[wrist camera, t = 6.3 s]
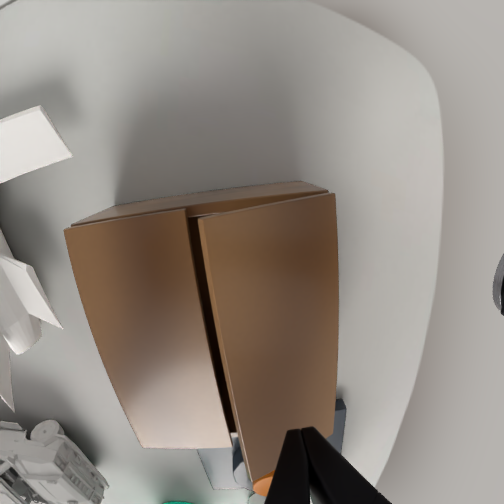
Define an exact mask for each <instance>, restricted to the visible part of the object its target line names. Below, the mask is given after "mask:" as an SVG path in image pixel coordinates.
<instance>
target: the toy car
mask: <svg viewBox="0 0 504 504" xmlns="http://www.w3.org/2000/svg"><path fill="white" fill-rule="evenodd" d="M3 428H8V429H3ZM10 429H17V430H23V429H22V427H21V426H20V425H19V423H13V422H4V421H0V504H30V502H31V501H34V500H35V501H37V502H35V503H38V502H42V503H45V504H100V503H101V501H102V499H104V496H103V493H104V489H108V488H109V485H108V483H107V481H106V479H105V478H104V477H103V476H102V475H101V473H100V472H99V471H98V470H97V469H96V468H95V467H94V466H93V464H92V463H91V462H90V461H89V460H88V459H87V457H86V456H85V455H84V454H83V453H82V451H81V450H80V449H79V448H78V447H77V445H76V444H75V443H73V442H72V441H71V440H70V439H69V438H68V437H67V436H65V435H64V431H63V429H62V427H61V426H60V425H59V423H58V422H57V421H55V420H51V419H50V420H46V421H43V422H41V423H40V424H38V425H36V427H35V428H34V429H33V431H32V432H31V437H30V439H31V440H28V439H27V438H26V434H27V433H28V432H27V430H25V432H24V431H17V430H10ZM20 496H22V497H25V498H26V499H25V500H23V499H22V498H21V497H20Z"/></svg>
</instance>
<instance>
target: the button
mask: <svg viewBox="0 0 504 504" xmlns="http://www.w3.org/2000/svg"><path fill="white" fill-rule="evenodd" d="M274 472H275V470H274V471H272V472H270V473H268V474H266V475H264V476H263V477H261V478H259V479H257V480H255V481H253V482H252V485H253V490H254V492H255V493H257V494H258V495H261V496H267V493H268V490H269V487H270V484H271V481H272V478H273V475H274Z"/></svg>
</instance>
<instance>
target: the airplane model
mask: <svg viewBox="0 0 504 504" xmlns="http://www.w3.org/2000/svg"><path fill="white" fill-rule="evenodd" d="M71 157H73V155H72V154H71V152H70V151H69V149H68V147H67V146H66V144H65V143H64V141H63V139H62V138H61V136H60V135H59V133H58V131H57V130H56V128H55V126H54V125H53V123H52V121H51V120H50V118H49V116H48V114H47V113H46V111H45V110H44V109H43V108H42V107H41V105H39V106H36V107H33V108H30V109H27V110H24V111H21V112H18V113H16V114H13V115H10V116H8V117H5V118H3V119H0V183H3V182H5V181H8V180H10V179H13V178H15V177H18V176H20V175H23V174H25V173H28V172H31V171H33V170H36V169H39V168H41V167H44V166H47V165H50V164H53V163H56V162H59V161H62V160H65V159H68V158H71ZM40 319H42V320H44V321H46V322H48V323H50V324H53V325H55V326H57V327H59V328H61V329H63V327H62V326H61V324H60V322H59V320H58V318H57V316H56V314H55V313H54V311H53V309H52V307H51V305H50V303H49V301H48V299H47V297H46V295H45V293H44V290H43V288H42V286H41V284H40V282H39V280H38V278H37V275H36V273H35V271H34V269H33V266H31V265H28V264H26V263H23V262H21V261H18V260H16V259H14V257H13V255H12V253H11V251H10V249H9V246H8V244H7V242H6V240H5V238H4V235H3V233H2V231H1V229H0V396H1V398H2V399H3V400H4V401H5V402H6V404H7V405H8V406H9V407H10V408H11V409H12V410H13V412H14V413H15V409H14V402H13V393H12V382H11V369H10V348H11V349H12V350H13V351H14V352H15V353H16V354H17V355H19V354H22V353H23V352H25V351H26V350H28V349H29V348H30V347H32V346H33V345H34V344H35V343H36V342H37V341H38V340H39V339H40V338H41V337H42V330H41V322H40Z"/></svg>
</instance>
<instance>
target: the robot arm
mask: <svg viewBox="0 0 504 504" xmlns="http://www.w3.org/2000/svg"><path fill="white" fill-rule="evenodd" d="M501 314H502V315H503V316H504V298H503V303H502V308H501ZM310 496H311V500H312V503H313V504H392V503H390V502H389V501H388V500H387V499H386V498H385V497H384V496H383V495H381V493H378V491H377V490H376V489H375V488H374V487H373V486H372V485H371V484H370V483H369V482H368V481H367V480H366V479H365V478H364V477H363V476H362V475H361V474H360V473H359V472H358V471H357V470H356V469H355V468H354V467H353V466H352V465H351V464H350V463H349V462H348V461H347V460H346V459H345V458H344V457H343V456H342V455H341V454H340V453H339V452H338V451H337V450H336V449H335V448H334V447H333V446H332V445H331V444H330V443H329V442H328V441H327V439H326V438H325V437H324V436H323V435H322V434H321V433H320V432H319V431H318V430H317V429H316V428H315V427H314V426H310V427H304V428H301V430H300V429H298V428H297V429H291V430H287V432H286V435H285V439H284V442H283V445H282V449H281V452H280V455H279V459H278V462H277V465H276V469H275V472H274V475H273V478H272V481H271V484H270V487H269V490H268V493H267V496H266V499H265V502H264V504H310Z"/></svg>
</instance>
